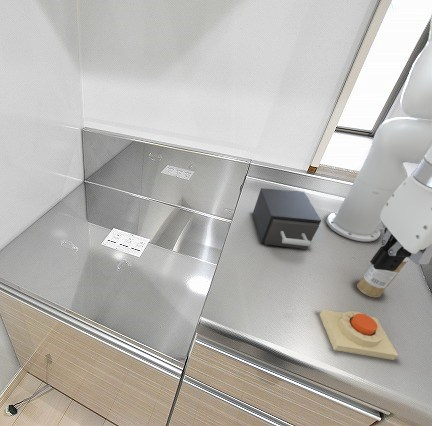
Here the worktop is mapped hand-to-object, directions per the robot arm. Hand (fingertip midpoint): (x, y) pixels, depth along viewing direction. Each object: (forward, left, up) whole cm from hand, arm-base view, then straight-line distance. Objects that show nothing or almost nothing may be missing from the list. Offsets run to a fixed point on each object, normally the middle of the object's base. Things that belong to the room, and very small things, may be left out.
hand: (381, 266), depth 52 cm
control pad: (-1, +4, -16) cm, 16 cm away
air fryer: (+6, -28, -16) cm, 33 cm away
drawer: (+6, -25, -15) cm, 30 cm away
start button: (-1, +4, -13) cm, 13 cm away
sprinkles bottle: (-9, -9, -16) cm, 21 cm away
